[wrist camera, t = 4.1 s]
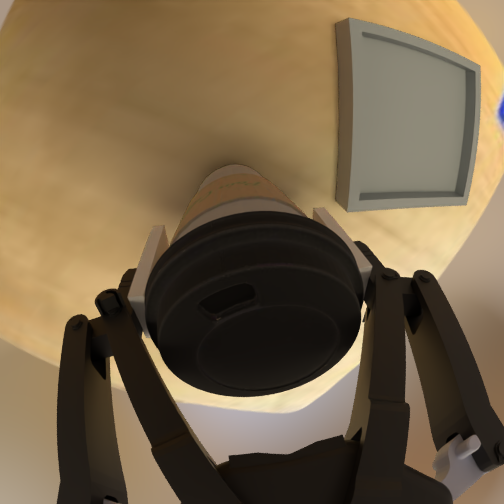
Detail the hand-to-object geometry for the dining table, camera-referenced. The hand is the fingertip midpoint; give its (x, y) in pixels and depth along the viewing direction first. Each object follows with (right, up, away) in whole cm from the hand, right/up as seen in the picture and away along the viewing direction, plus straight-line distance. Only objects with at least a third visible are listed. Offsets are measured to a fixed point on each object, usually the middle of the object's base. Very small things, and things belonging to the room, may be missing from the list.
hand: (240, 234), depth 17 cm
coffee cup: (-1, +3, +5) cm, 6 cm away
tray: (+16, +11, +2) cm, 19 cm away
